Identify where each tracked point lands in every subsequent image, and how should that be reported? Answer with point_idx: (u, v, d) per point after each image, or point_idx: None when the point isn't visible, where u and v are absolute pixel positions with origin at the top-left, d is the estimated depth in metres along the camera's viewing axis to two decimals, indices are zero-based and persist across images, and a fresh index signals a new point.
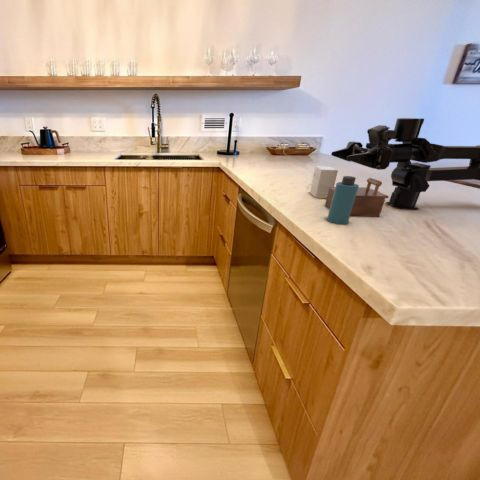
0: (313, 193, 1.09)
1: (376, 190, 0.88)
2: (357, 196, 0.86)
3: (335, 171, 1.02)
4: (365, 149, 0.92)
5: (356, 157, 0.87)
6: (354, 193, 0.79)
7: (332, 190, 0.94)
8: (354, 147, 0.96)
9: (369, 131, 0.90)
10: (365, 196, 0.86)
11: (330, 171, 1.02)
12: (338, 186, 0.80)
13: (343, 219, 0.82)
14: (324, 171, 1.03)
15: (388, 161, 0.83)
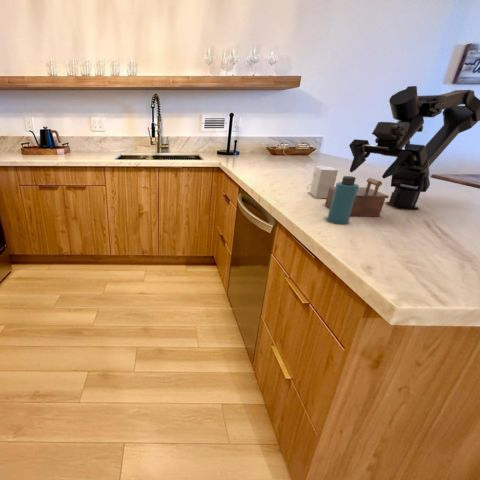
0: (313, 193, 1.09)
1: (376, 190, 0.88)
2: (357, 196, 0.86)
3: (335, 171, 1.02)
4: (380, 147, 0.82)
5: (391, 171, 0.78)
6: (354, 193, 0.79)
7: (332, 190, 0.94)
8: (362, 148, 0.86)
9: (375, 133, 0.80)
10: (365, 196, 0.86)
11: (330, 171, 1.02)
12: (338, 186, 0.80)
13: (343, 219, 0.82)
14: (324, 171, 1.03)
15: (425, 155, 0.75)
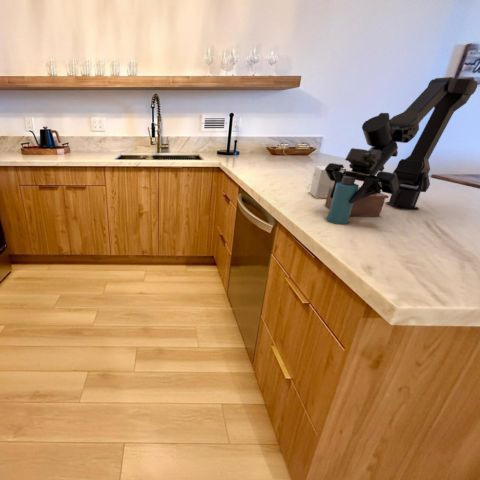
0: (313, 193, 1.09)
1: None
2: None
3: None
4: (360, 174, 0.80)
5: (358, 196, 0.79)
6: (354, 193, 0.79)
7: None
8: (343, 173, 0.84)
9: None
10: None
11: None
12: (338, 186, 0.80)
13: (343, 219, 0.82)
14: (324, 171, 1.03)
15: (397, 183, 0.74)
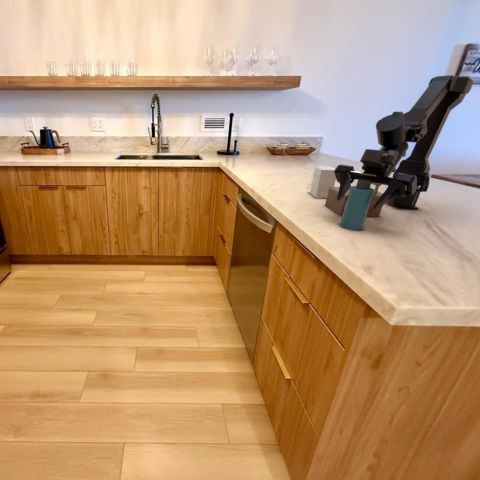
0: (313, 193, 1.09)
1: (376, 190, 0.88)
2: None
3: None
4: (367, 175, 0.78)
5: (382, 201, 0.73)
6: (370, 198, 0.75)
7: (332, 190, 0.94)
8: (348, 174, 0.81)
9: (363, 160, 0.75)
10: None
11: (330, 171, 1.02)
12: (354, 191, 0.76)
13: (359, 224, 0.78)
14: (324, 171, 1.03)
15: (416, 185, 0.71)
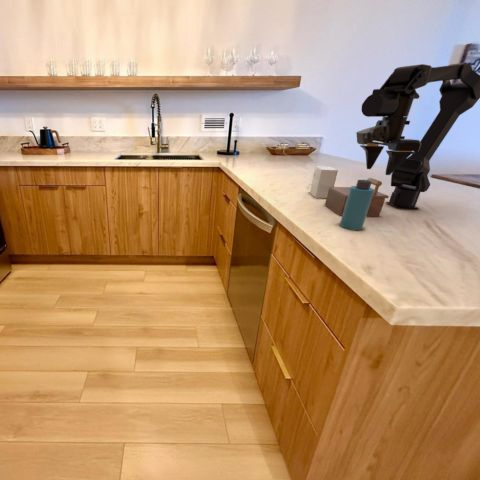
0: (313, 193, 1.09)
1: (376, 190, 0.88)
2: None
3: (335, 171, 1.02)
4: None
5: (391, 167, 0.82)
6: (370, 198, 0.75)
7: (332, 190, 0.94)
8: (369, 144, 0.90)
9: None
10: None
11: (330, 171, 1.02)
12: (354, 191, 0.76)
13: (359, 224, 0.78)
14: (324, 171, 1.03)
15: (413, 143, 0.76)
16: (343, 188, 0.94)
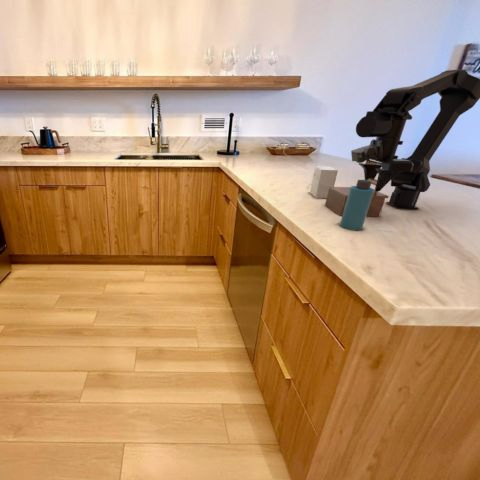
0: (313, 193, 1.09)
1: None
2: None
3: (335, 171, 1.02)
4: (377, 161, 0.86)
5: (381, 184, 0.86)
6: (370, 198, 0.75)
7: (332, 190, 0.94)
8: (367, 162, 0.90)
9: None
10: None
11: (330, 171, 1.02)
12: (354, 191, 0.76)
13: (359, 224, 0.78)
14: (324, 171, 1.03)
15: (406, 164, 0.78)
16: (343, 188, 0.94)
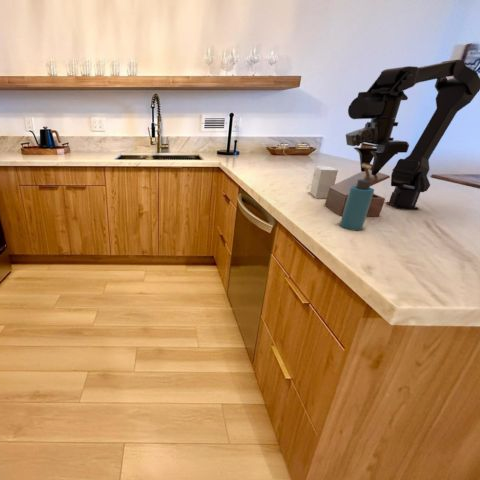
0: (313, 193, 1.09)
1: None
2: None
3: (335, 171, 1.02)
4: (372, 144, 0.84)
5: (377, 167, 0.84)
6: (370, 198, 0.75)
7: (333, 190, 0.94)
8: (362, 146, 0.88)
9: None
10: None
11: (330, 171, 1.02)
12: (354, 191, 0.76)
13: (359, 224, 0.78)
14: (324, 171, 1.03)
15: (401, 145, 0.76)
16: (342, 183, 0.93)
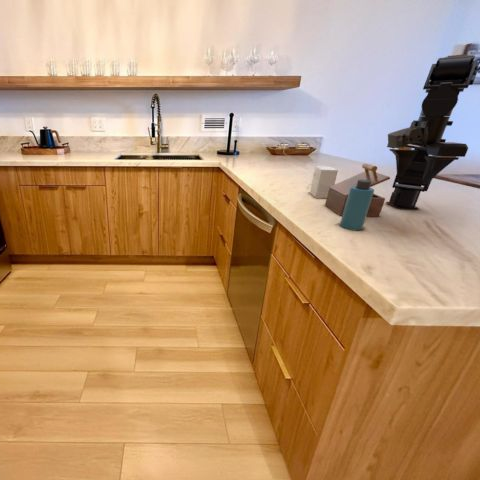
0: (313, 193, 1.09)
1: (375, 175, 0.86)
2: None
3: (335, 171, 1.02)
4: (414, 146, 0.74)
5: (430, 174, 0.71)
6: (370, 198, 0.75)
7: None
8: (400, 147, 0.79)
9: None
10: None
11: (330, 171, 1.02)
12: (354, 191, 0.76)
13: (359, 224, 0.78)
14: (324, 171, 1.03)
15: (459, 148, 0.65)
16: (343, 183, 0.93)
